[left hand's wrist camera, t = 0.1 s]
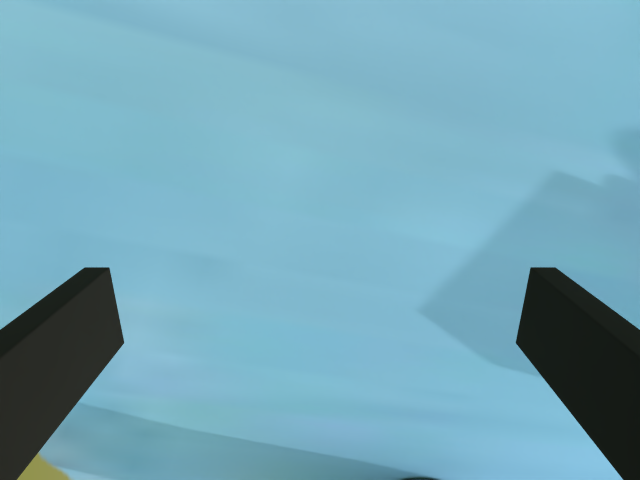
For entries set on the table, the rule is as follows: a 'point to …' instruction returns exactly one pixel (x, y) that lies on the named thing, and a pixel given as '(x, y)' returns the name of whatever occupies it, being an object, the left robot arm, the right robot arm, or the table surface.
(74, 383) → the left robot arm
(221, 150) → the table surface
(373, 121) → the table surface
